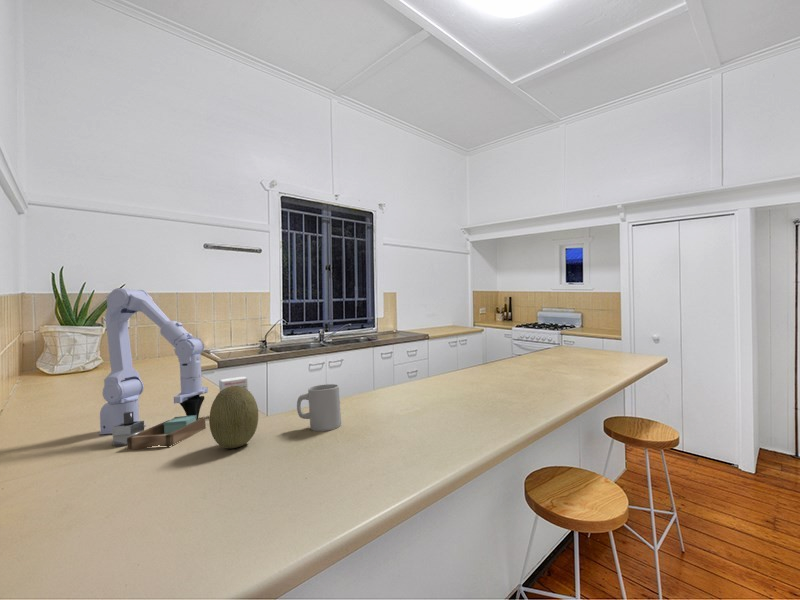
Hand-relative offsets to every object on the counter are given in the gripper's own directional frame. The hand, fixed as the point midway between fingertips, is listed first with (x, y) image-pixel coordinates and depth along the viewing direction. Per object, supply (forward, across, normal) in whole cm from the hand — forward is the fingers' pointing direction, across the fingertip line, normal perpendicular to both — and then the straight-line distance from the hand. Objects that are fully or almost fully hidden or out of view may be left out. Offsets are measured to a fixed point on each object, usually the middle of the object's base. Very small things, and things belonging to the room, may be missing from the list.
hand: (193, 421), depth 115 cm
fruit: (+2, -22, -24) cm, 32 cm away
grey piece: (+1, -12, +10) cm, 16 cm away
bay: (+1, -11, 0) cm, 11 cm away
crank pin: (-1, -12, +10) cm, 16 cm away
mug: (+2, -10, -42) cm, 43 cm away
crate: (+2, -6, 0) cm, 6 cm away
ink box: (+2, +14, -6) cm, 16 cm away
